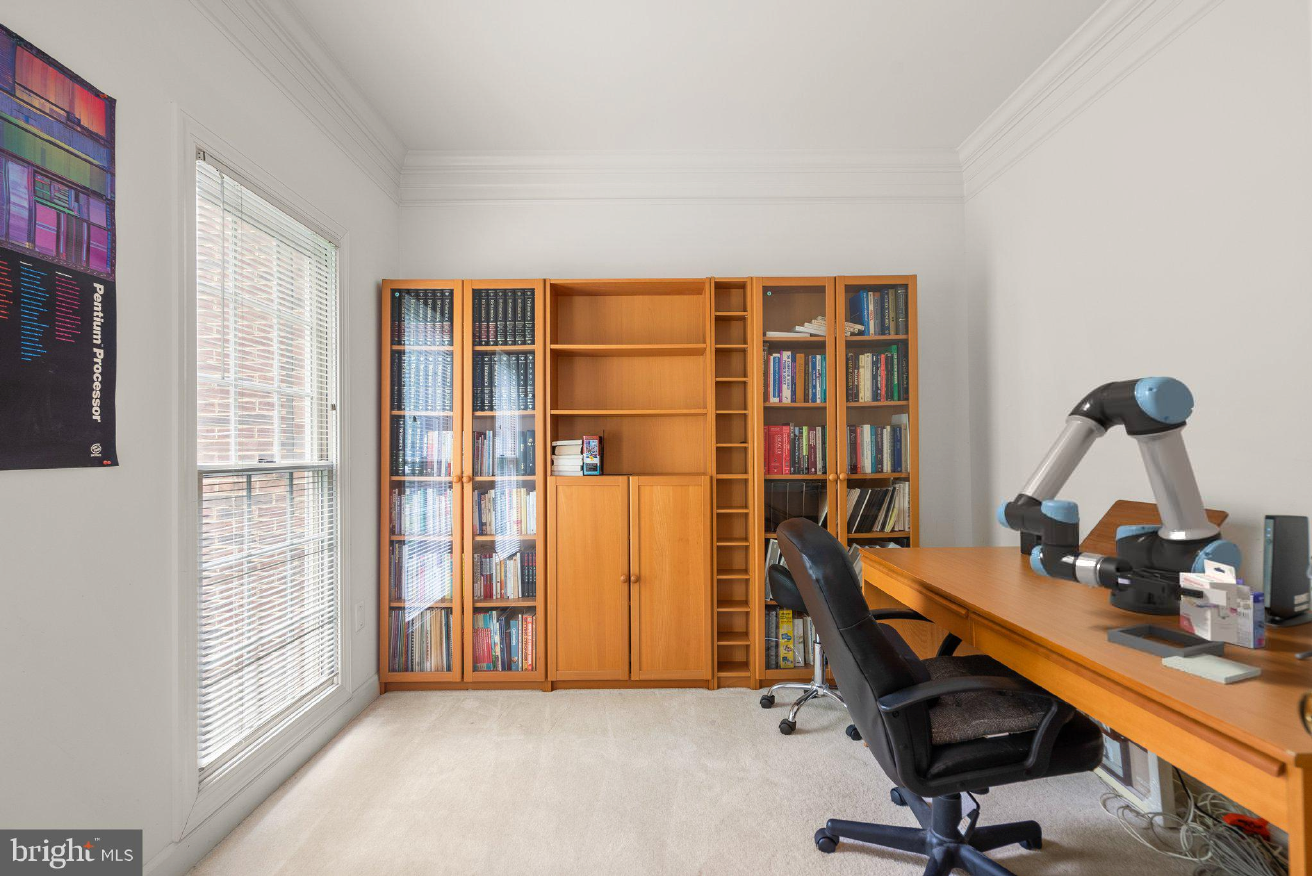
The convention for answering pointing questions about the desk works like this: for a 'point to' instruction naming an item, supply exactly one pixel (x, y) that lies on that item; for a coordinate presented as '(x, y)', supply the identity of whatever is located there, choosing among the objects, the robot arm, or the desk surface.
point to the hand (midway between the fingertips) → (1238, 596)
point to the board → (1212, 667)
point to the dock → (1133, 633)
